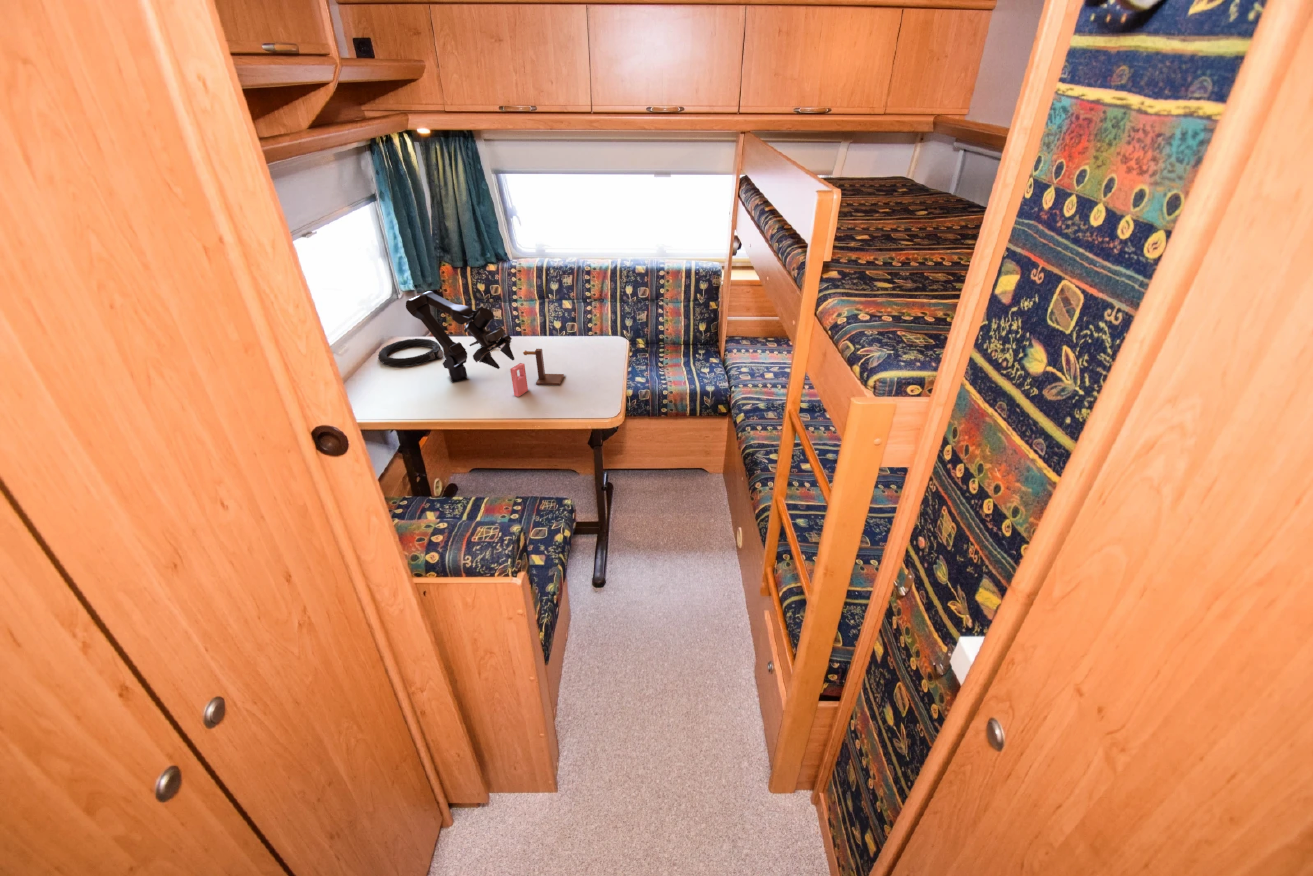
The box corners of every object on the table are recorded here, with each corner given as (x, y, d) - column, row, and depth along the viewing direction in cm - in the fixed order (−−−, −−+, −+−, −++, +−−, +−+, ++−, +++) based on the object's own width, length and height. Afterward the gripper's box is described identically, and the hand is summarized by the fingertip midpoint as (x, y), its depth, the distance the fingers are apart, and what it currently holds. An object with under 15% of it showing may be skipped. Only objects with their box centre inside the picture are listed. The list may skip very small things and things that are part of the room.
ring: (399, 335, 286) (455, 339, 281) (401, 342, 288) (456, 346, 283) (364, 357, 263) (424, 362, 258) (366, 365, 265) (426, 370, 260)
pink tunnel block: (514, 395, 237) (510, 368, 231) (523, 389, 242) (520, 362, 236) (518, 396, 237) (514, 369, 230) (528, 390, 241) (524, 363, 235)
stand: (524, 384, 246) (519, 353, 239) (529, 375, 254) (525, 345, 247) (559, 385, 245) (556, 354, 238) (564, 376, 253) (560, 345, 246)
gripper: (473, 330, 222) (500, 361, 223) (504, 315, 236) (530, 344, 237) (461, 346, 229) (488, 377, 230) (492, 330, 243) (517, 359, 244)
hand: (506, 364), depth 235 cm, fingers open, 9 cm apart
